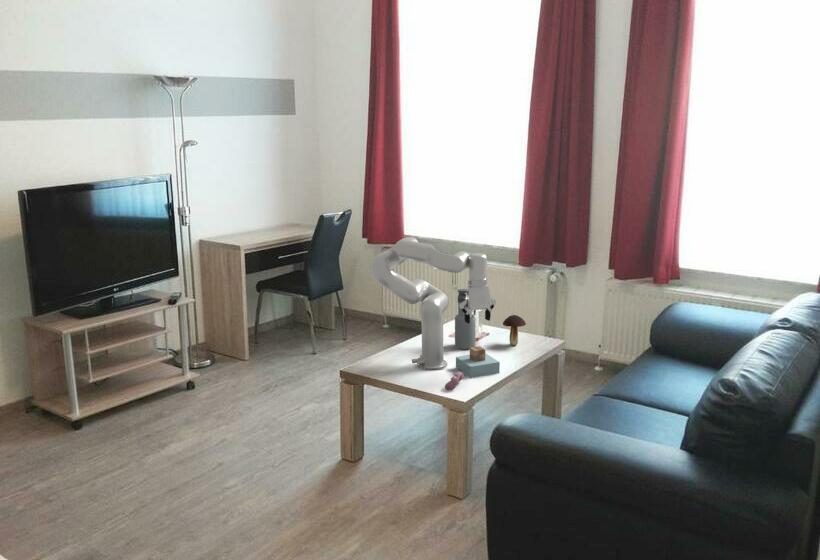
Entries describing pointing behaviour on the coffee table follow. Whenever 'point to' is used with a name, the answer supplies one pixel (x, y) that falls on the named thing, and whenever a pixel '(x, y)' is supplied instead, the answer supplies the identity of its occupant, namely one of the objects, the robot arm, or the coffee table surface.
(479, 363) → the block
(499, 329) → the coffee table surface
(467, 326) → the water bottle
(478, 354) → the walnut cube
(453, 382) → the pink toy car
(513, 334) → the decorative mushroom
